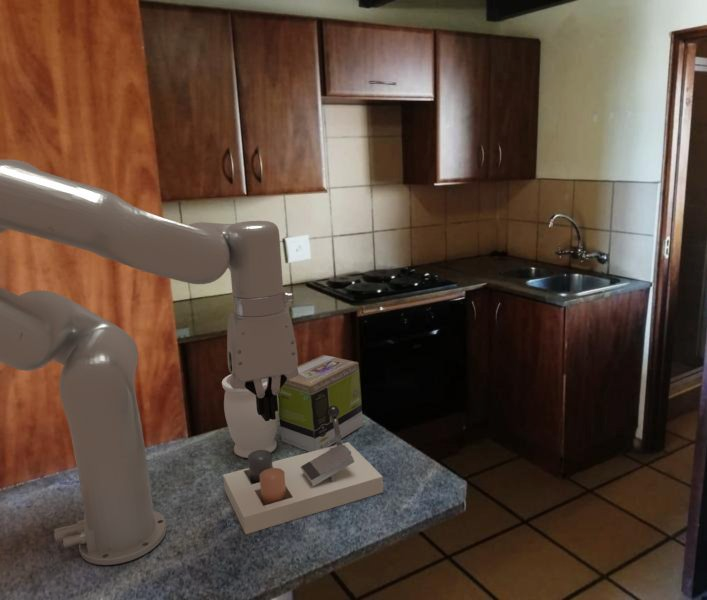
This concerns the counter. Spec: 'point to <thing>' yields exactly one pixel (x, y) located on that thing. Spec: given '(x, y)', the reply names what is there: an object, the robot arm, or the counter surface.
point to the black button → (259, 464)
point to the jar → (248, 421)
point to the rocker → (327, 464)
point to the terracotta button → (272, 485)
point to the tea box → (320, 403)
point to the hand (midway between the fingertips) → (268, 416)
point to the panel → (301, 490)
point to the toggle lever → (335, 422)
